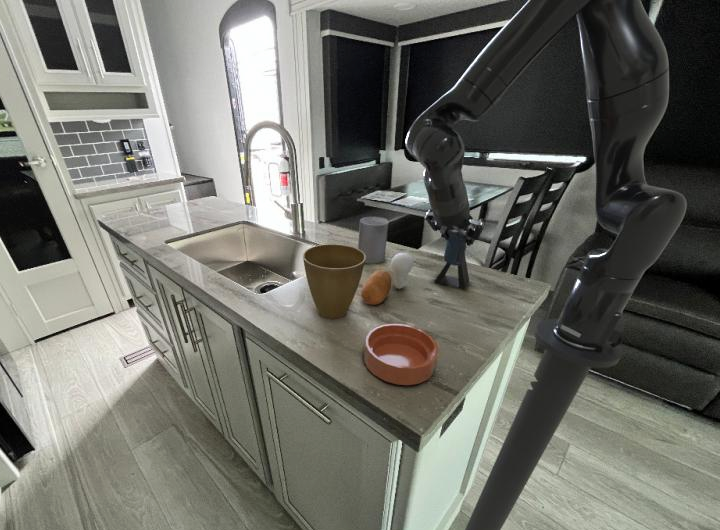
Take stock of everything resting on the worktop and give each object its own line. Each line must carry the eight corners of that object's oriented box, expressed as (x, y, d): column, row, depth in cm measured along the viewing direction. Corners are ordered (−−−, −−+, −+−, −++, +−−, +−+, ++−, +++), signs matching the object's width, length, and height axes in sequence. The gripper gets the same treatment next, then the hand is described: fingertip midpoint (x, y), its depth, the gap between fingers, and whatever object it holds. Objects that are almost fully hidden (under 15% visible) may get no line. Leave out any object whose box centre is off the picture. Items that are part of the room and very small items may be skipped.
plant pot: (299, 325, 79) (297, 265, 71) (309, 295, 92) (308, 242, 83) (360, 330, 77) (365, 269, 69) (362, 299, 90) (366, 245, 82)
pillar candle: (360, 252, 120) (362, 211, 112) (386, 255, 117) (391, 214, 110) (354, 262, 112) (356, 219, 104) (382, 265, 109) (387, 222, 102)
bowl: (445, 361, 67) (450, 342, 65) (412, 400, 58) (416, 379, 56) (387, 334, 76) (389, 316, 73) (350, 364, 67) (351, 345, 64)
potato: (393, 289, 95) (399, 269, 90) (379, 314, 86) (384, 292, 81) (370, 282, 97) (375, 262, 93) (354, 304, 88) (358, 283, 83)
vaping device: (455, 266, 82) (465, 220, 76) (441, 259, 86) (450, 214, 80) (463, 265, 83) (474, 219, 77) (448, 258, 87) (458, 213, 81)
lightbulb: (410, 294, 92) (415, 258, 87) (388, 292, 93) (392, 256, 88) (408, 284, 97) (414, 250, 92) (388, 282, 98) (392, 248, 93)
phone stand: (433, 282, 98) (441, 245, 92) (439, 275, 103) (446, 239, 97) (464, 290, 94) (474, 251, 88) (468, 282, 98) (478, 245, 92)
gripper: (490, 190, 66) (494, 233, 79) (425, 182, 74) (439, 222, 88) (475, 222, 65) (481, 260, 79) (411, 209, 73) (427, 245, 87)
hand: (459, 240), depth 83 cm, fingers closed on vaping device, 5 cm apart
